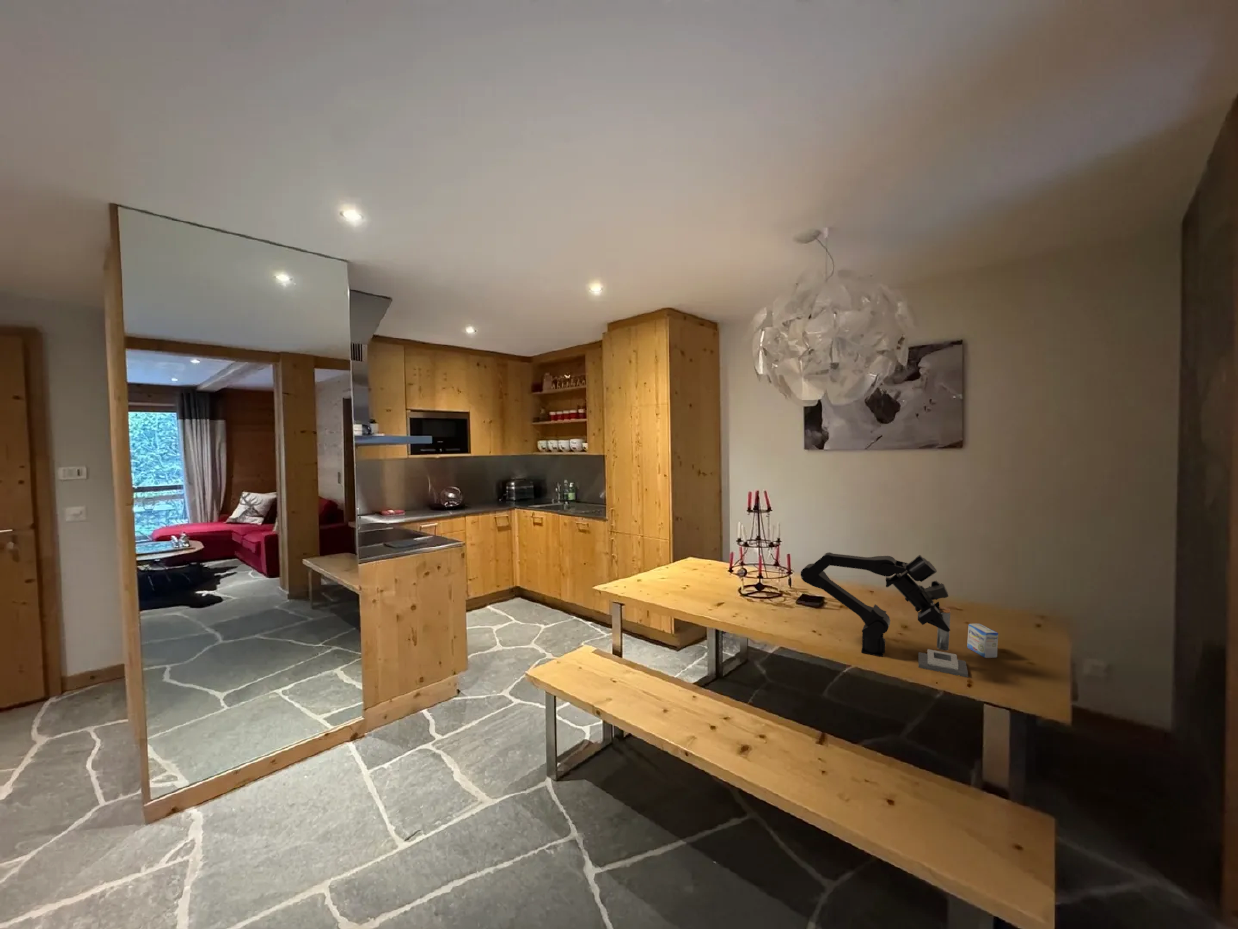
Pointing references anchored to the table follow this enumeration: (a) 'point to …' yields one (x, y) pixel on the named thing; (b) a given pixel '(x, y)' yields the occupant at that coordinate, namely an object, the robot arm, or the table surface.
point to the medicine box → (982, 640)
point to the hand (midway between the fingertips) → (948, 629)
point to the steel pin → (941, 634)
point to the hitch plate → (960, 666)
